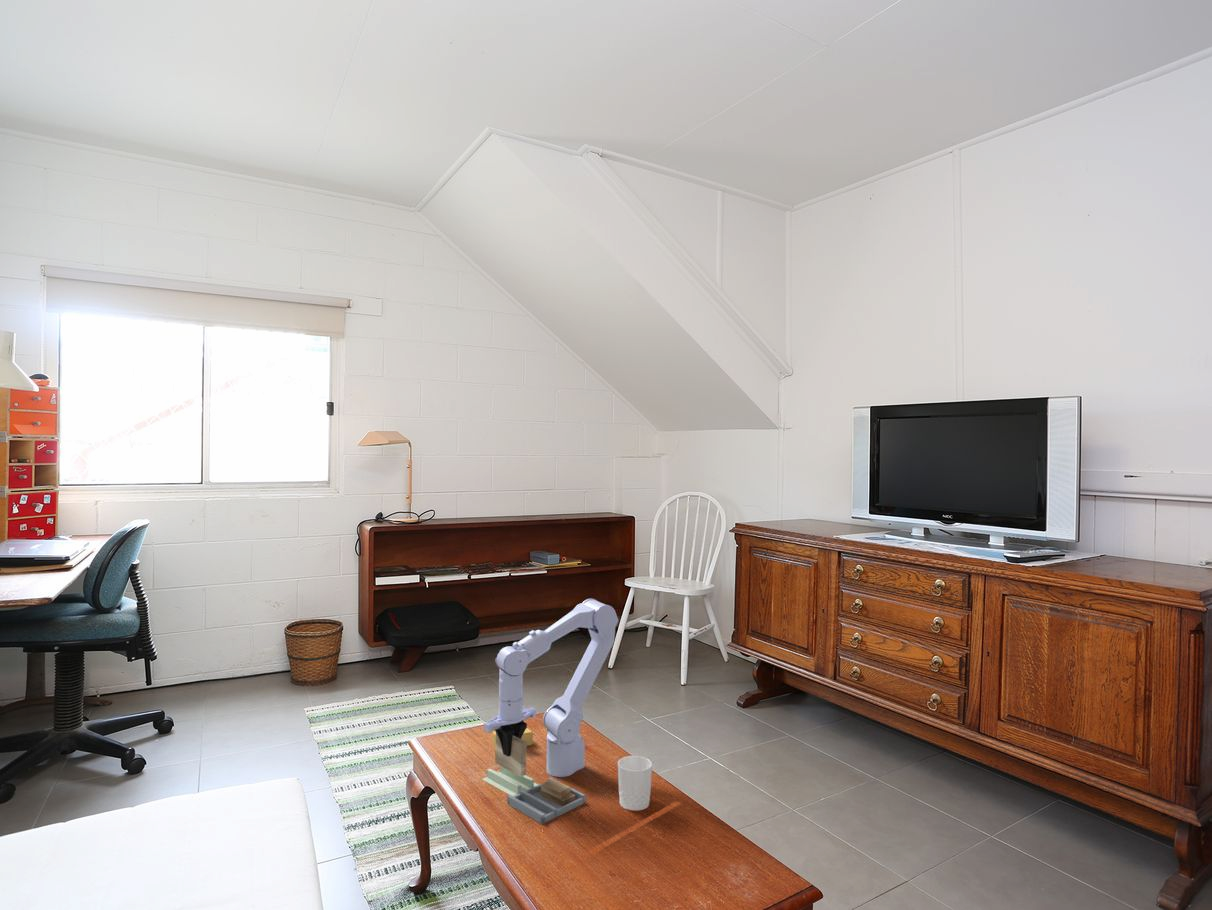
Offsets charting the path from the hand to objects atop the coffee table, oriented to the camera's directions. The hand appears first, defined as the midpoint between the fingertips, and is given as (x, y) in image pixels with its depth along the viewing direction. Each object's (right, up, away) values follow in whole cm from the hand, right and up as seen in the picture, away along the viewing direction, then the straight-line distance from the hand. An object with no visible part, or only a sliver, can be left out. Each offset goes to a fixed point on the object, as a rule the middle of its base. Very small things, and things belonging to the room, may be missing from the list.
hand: (510, 753), depth 172 cm
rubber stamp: (-3, -8, +23) cm, 25 cm away
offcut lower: (+12, -7, -8) cm, 16 cm away
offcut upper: (+12, -6, -7) cm, 15 cm away
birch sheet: (0, -4, 0) cm, 4 cm away
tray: (+10, -8, -10) cm, 16 cm away
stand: (0, -8, 0) cm, 8 cm away
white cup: (+30, -8, -9) cm, 32 cm away
